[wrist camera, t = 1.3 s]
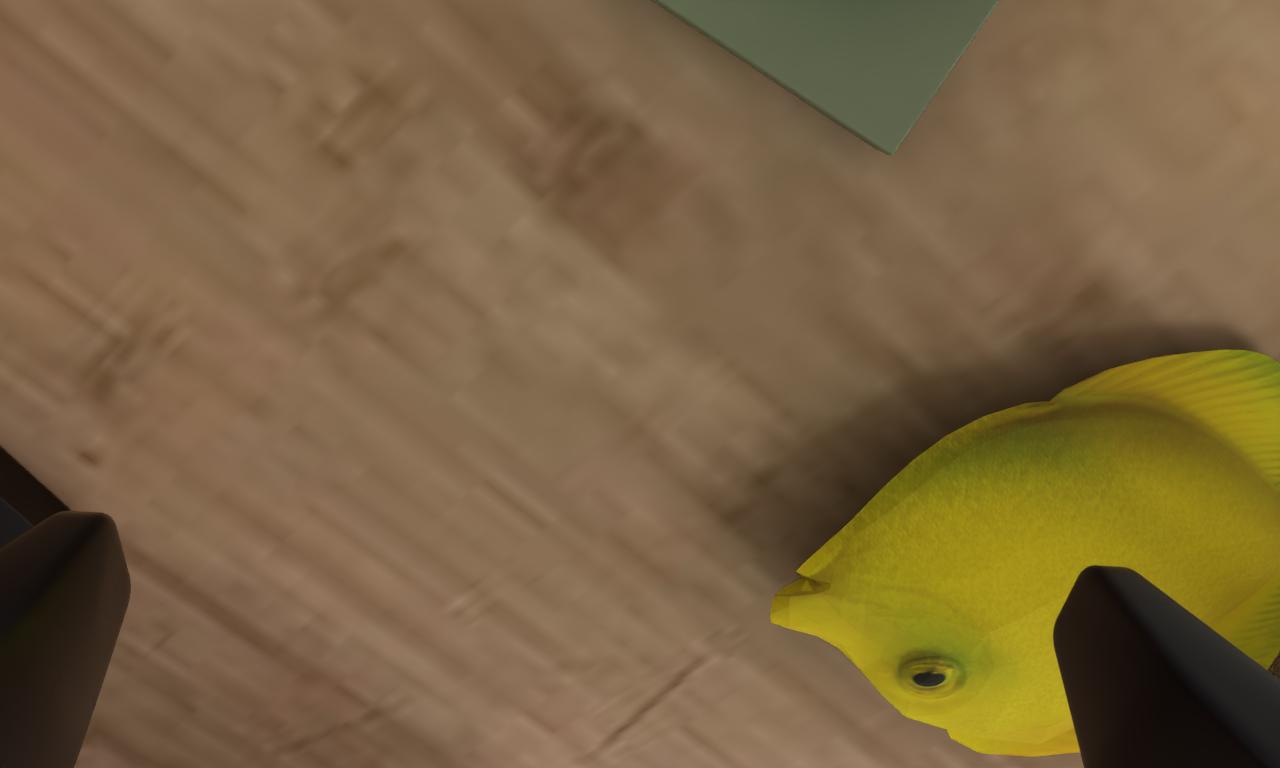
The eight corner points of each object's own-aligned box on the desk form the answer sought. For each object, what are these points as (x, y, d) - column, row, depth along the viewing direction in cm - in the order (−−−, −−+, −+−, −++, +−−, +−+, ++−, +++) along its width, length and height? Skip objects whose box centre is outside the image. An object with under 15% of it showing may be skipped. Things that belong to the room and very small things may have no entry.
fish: (743, 507, 20) (846, 877, 23) (1454, 291, 20) (1471, 685, 23) (721, 462, 23) (816, 799, 26) (1350, 271, 23) (1376, 627, 26)
